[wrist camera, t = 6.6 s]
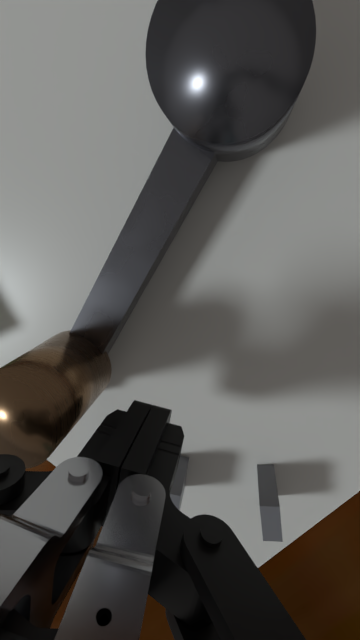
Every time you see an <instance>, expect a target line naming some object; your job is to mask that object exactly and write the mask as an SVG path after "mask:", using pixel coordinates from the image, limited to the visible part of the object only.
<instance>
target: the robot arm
mask: <svg viewBox="0 0 360 640" xmlns="http://www.w3.org/2000/svg"><path fill="white" fill-rule="evenodd" d="M171 412H172V410H171V409H167V408H163V407H159V406H156V405H151V404H148V403H144V402H140V401H136V400H134V401H133V402H132V404H131V406H130V407H129V409H128V410H127V412H126V411H122V410H118V409H117V410H115V411H114V412H112V413H110V414H108V415H107V416H106V417H105V419H104V420H103V422H102V423H101V425H100V426H99V427H98V428H97V430H96V432H94V434H93V435H92V437H91V438H90V439H89V441H88V442H87V443H86V445H85V446H84V448H83V449H82V450H81V452H80V453H79V454H78V456H77V457H74V458H70V459H67V460H65V461H63V462H62V463H60V464H59V465H58V466H57V467H56V468H55V469H54V470H53V471H49V472H33V471H25V463H24V462H23V460H22V459H21V458H19V457H17V456H15V455H10V454H0V640H139V637H140V631H141V626H142V621H143V615H144V610H145V605H146V600H147V594H149V595H150V596H151V597H153V598H154V599H155V600H156V601H158V602H159V603H160V604H161V605H162V606H164V607H165V608H166V617H167V620H168V623H169V626H170V629H171V631H172V634H173V636H174V639H175V640H306V639H305V638H304V636H303V635H302V633H301V632H300V630H299V629H298V627H297V626H296V624H295V623H294V621H293V620H292V618H291V617H290V615H289V614H288V612H287V611H286V610H285V608H284V607H283V605H282V604H281V602H280V601H279V599H278V598H277V596H276V595H275V593H274V592H273V590H272V589H271V587H270V586H269V584H268V583H267V581H266V580H265V578H264V577H263V575H262V574H261V572H260V571H259V569H258V568H257V566H256V565H255V563H254V562H253V561H252V559H251V558H250V556H249V555H248V553H247V552H246V550H245V549H244V547H243V546H242V544H241V543H240V541H239V540H238V538H237V537H236V535H235V534H234V532H233V531H232V529H231V528H230V527H229V526H228V525H227V524H226V523H225V522H224V521H223V520H221V519H219V518H217V517H215V516H212V515H206V514H202V515H197V516H194V517H193V518H189V517H188V516H186V515H185V514H183V513H182V512H181V511H179V510H178V509H177V508H176V506H175V505H174V504H173V502H172V500H171V497H170V494H171V490H172V486H173V483H174V479H175V476H176V472H177V468H178V463H179V459H180V454H181V449H182V445H183V440H184V433H183V430H182V427H181V426H178V425H175V424H171V423H170V418H171ZM101 526H103V528H102V531H101V533H100V536H99V539H98V541H97V544H96V546H95V548H93V543H94V539H95V537H96V535H97V533H98V531H99V529H100V527H101ZM82 567H83V568H82ZM81 569H82V570H81ZM80 570H81V573H80V575H79V578H78V580H77V583H76V586H75V588H74V591H73V593H72V596H71V598H70V601H69V603H68V606H67V609H66V611H65V614H64V616H63V619H62V621H61V624H60V626H59V629H50V627H51V624H52V622H53V619H54V617H55V615H56V613H57V611H58V609H59V608H60V606H61V604H62V602H63V601H64V599H65V597H66V595H67V593H68V592H69V590H70V588H71V586H72V585H73V583H74V581H75V579H76V577H77V576H78V574H79V572H80Z"/></svg>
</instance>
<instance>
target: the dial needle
mask: <svg viewBox="0 0 360 640" xmlns="http://www.w3.org/2000/svg"><path fill="white" fill-rule="evenodd" d="M315 44H316V18H315V11H314V6H313V2H312V0H158V1H157V3H156V5H155V8H154V11H153V13H152V16H151V19H150V23H149V27H148V32H147V39H146V54H145V56H146V69H147V74H148V80H149V83H150V87H151V90H152V92H153V95H154V97H155V99H156V101H157V103H158V105H159V107H160V108H161V110H162V111H163V113H164V114H165V116H166V117H167V119H168V120H169V121H170V123H171V124H172V126H173V127H174V128H173V130H172V132H171V134H170V136H169V137H168V139H167V141H166V143H165V145H164V147H163V149H162V151H161V153H160V155H159V157H158V159H157V161H156V163H155V165H154V167H153V169H152V171H151V173H150V175H149V177H148V179H147V181H146V183H145V185H144V187H143V189H142V191H141V193H140V195H139V197H138V199H137V201H136V203H135V205H134V207H133V209H132V211H131V213H130V215H129V217H128V218H127V220H126V222H125V224H124V226H123V228H122V230H121V232H120V234H119V236H118V238H117V240H116V242H115V244H114V246H113V248H112V250H111V252H110V254H109V256H108V258H107V260H106V262H105V264H104V266H103V268H102V270H101V272H100V274H99V276H98V278H97V280H96V282H95V284H94V286H93V288H92V290H91V292H90V294H89V296H88V297H87V299H86V301H85V303H84V305H83V307H82V309H81V311H80V313H79V315H78V317H77V319H76V321H75V323H74V325H73V327H72V329H71V330H69V331H63V332H60V333H58V334H56V335H54V336H53V337H51V338H49V339H48V340H46V341H44V342H43V343H41V344H39V345H38V346H36V347H34V348H33V349H31V350H29V351H28V352H26V353H24V354H23V355H21V356H19V357H18V358H16V359H14V360H13V361H11V362H9V363H8V364H6V365H4V366H3V367H1V368H0V454H10V455H15V456H17V457H19V458H21V459H22V460H23V462H24V463H25V468H32V467H35V466H37V465H39V464H41V463H43V462H44V461H46V460H47V458H48V457H49V456H50V455H51V454H52V453H53V452H54V450H55V449H56V448H57V447H58V445H59V444H60V443H61V442H62V441H63V439H64V438H65V437H66V436H67V434H68V433H69V432H70V431H71V430H72V428H73V427H74V426H75V425H76V424H77V422H78V421H79V420H80V419H81V417H82V416H83V415H84V414H85V413H86V411H87V410H88V409H89V408H90V407H91V405H92V404H93V403H94V402H95V400H96V399H97V398H98V397H99V396H100V394H101V393H102V392H103V391H104V390H105V388H106V387H107V385H108V383H109V381H110V378H111V373H112V368H111V362H110V358H109V356H108V353H109V352H110V350H111V348H112V346H113V345H114V343H115V341H116V339H117V338H118V336H119V334H120V332H121V330H122V329H123V327H124V325H125V323H126V322H127V320H128V318H129V316H130V315H131V313H132V311H133V309H134V308H135V306H136V304H137V302H138V301H139V299H140V297H141V295H142V294H143V292H144V290H145V288H146V287H147V285H148V283H149V281H150V280H151V278H152V276H153V274H154V272H155V271H156V269H157V267H158V265H159V264H160V262H161V260H162V258H163V257H164V255H165V253H166V251H167V250H168V248H169V246H170V244H171V243H172V241H173V239H174V237H175V236H176V234H177V232H178V230H179V229H180V227H181V225H182V223H183V222H184V220H185V218H186V216H187V215H188V213H189V211H190V209H191V207H192V206H193V204H194V202H195V200H196V199H197V197H198V195H199V193H200V192H201V190H202V188H203V186H204V185H205V183H206V181H207V179H208V178H209V176H210V174H211V172H212V171H213V169H214V167H215V165H216V164H217V162H218V161H221V162H231V161H238V160H242V159H245V158H248V157H251V156H253V155H254V154H256V153H258V152H260V151H261V150H263V149H264V148H265V147H267V146H268V145H269V144H270V143H271V142H272V141H273V140H274V139H275V138H276V137H277V136H278V134H279V133H280V132H281V130H282V129H283V127H284V126H285V124H286V122H287V120H288V118H289V116H290V114H291V112H292V109H293V107H294V105H295V103H296V101H297V98H298V96H299V94H300V92H301V90H302V87H303V85H304V83H305V80H306V78H307V75H308V73H309V71H310V67H311V64H312V60H313V56H314V50H315Z"/></svg>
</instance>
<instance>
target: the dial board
mask: <svg viewBox="0 0 360 640" xmlns="http://www.w3.org/2000/svg"><path fill="white" fill-rule="evenodd" d="M157 1H158V0H0V368H1V367H3V366H4V365H6V364H8V363H9V362H11V361H13V360H14V359H16V358H18V357H19V356H21V355H23V354H24V353H26V352H28V351H29V350H31V349H33V348H34V347H36V346H38V345H39V344H41V343H43V342H44V341H46V340H48V339H49V338H51V337H53V336H54V335H56V334H58V333H60V332H63V331H69V330H71V329H72V327H73V325H74V323H75V321H76V319H77V317H78V315H79V313H80V311H81V309H82V307H83V305H84V303H85V301H86V299H87V297H88V296H89V294H90V292H91V290H92V288H93V286H94V284H95V282H96V280H97V278H98V276H99V274H100V272H101V270H102V268H103V266H104V264H105V262H106V260H107V258H108V256H109V254H110V252H111V250H112V248H113V246H114V244H115V242H116V240H117V238H118V236H119V234H120V232H121V230H122V228H123V226H124V224H125V222H126V220H127V218H128V217H129V215H130V213H131V211H132V209H133V207H134V205H135V203H136V201H137V199H138V197H139V195H140V193H141V191H142V189H143V187H144V185H145V183H146V181H147V179H148V177H149V175H150V173H151V171H152V169H153V167H154V165H155V163H156V161H157V159H158V157H159V155H160V153H161V151H162V149H163V147H164V145H165V143H166V141H167V139H168V137H169V136H170V134H171V132H172V130H173V128H174V127H173V126H172V124H171V123H170V121H169V120H168V119H167V117H166V116H165V114H164V113H163V111H162V110H161V108H160V107H159V105H158V103H157V101H156V99H155V97H154V95H153V92H152V90H151V87H150V83H149V80H148V74H147V69H146V56H145V54H146V39H147V32H148V27H149V23H150V19H151V16H152V13H153V11H154V8H155V5H156V3H157ZM312 2H313V6H314V11H315V18H316V44H315V50H314V56H313V60H312V64H311V67H310V71H309V73H308V75H307V78H306V80H305V83H304V85H303V87H302V90H301V92H300V94H299V96H298V98H297V101H296V103H295V105H294V107H293V109H292V112H291V114H290V116H289V118H288V120H287V122H286V124H285V126H284V127H283V129H282V130H281V132H280V133H279V134H278V136H277V137H276V138H275V139H274V140H273V141H272V142H271V143H270V144H269V145H268V146H267V147H265V148H264V149H263V150H261V151H260V152H258V153H256V154H254V155H253V156H251V157H248V158H245V159H242V160H238V161H231V162H221V161H218V162H217V164H216V165H215V167H214V169H213V171H212V172H211V174H210V176H209V178H208V179H207V181H206V183H205V185H204V186H203V188H202V190H201V192H200V193H199V195H198V197H197V199H196V200H195V202H194V204H193V206H192V207H191V209H190V211H189V213H188V215H187V216H186V218H185V220H184V222H183V223H182V225H181V227H180V229H179V230H178V232H177V234H176V236H175V237H174V239H173V241H172V243H171V244H170V246H169V248H168V250H167V251H166V253H165V255H164V257H163V258H162V260H161V262H160V264H159V265H158V267H157V269H156V271H155V272H154V274H153V276H152V278H151V280H150V281H149V283H148V285H147V287H146V288H145V290H144V292H143V294H142V295H141V297H140V299H139V301H138V302H137V304H136V306H135V308H134V309H133V311H132V313H131V315H130V316H129V318H128V320H127V322H126V323H125V325H124V327H123V329H122V330H121V332H120V334H119V336H118V338H117V339H116V341H115V343H114V345H113V346H112V348H111V350H110V352H109V353H108V356H109V358H110V362H111V368H112V373H111V378H110V381H109V383H108V385H107V387H106V388H105V390H104V391H103V392H102V393H101V394H100V396H99V397H98V398H97V399H96V400H95V402H94V403H93V404H92V405H91V407H90V408H89V409H88V410H87V411H86V413H85V414H84V415H83V416H82V417H81V419H80V420H79V421H78V422H77V424H76V425H75V426H74V427H73V428H72V430H71V431H70V432H69V433H68V434H67V436H66V437H65V438H64V439H63V441H62V442H61V443H60V444H59V445H58V447H57V448H56V449H55V450H54V452H53V453H52V454H51V455H50V456H49V457H48V458H47V460H48V461H49V462H51V463H52V464H53V465H55V466H56V467H57V466H58V465H59V464H60V463H62V462H63V461H65V460H67V459H70V458H74V457H77V456H78V454H79V453H80V452H81V450H82V449H83V448H84V446H85V445H86V443H87V442H88V441H89V439H90V438H91V437H92V435H93V434H94V432H96V430H97V428H98V427H99V426H100V425H101V423H102V422H103V420H104V419H105V417H106V416H107V415H108V414H110V413H112V412H114V411H115V410H117V409H118V410H122V411H126V412H127V410H128V409H129V407H130V406H131V404H132V402H133V401H134V400H136V401H140V402H144V403H148V404H151V405H156V406H159V407H163V408H167V409H171V410H172V412H171V418H170V423H171V424H175V425H178V426H181V427H182V430H183V433H184V440H183V445H182V449H181V454H180V459H179V463H178V468H177V472H176V476H175V479H174V483H173V486H172V490H171V494H170V497H171V500H172V502H173V504H174V505H175V506H176V508H177V509H178V510H179V511H181V512H182V513H183V514H185V515H186V516H188V517H189V518H193V517H194V516H197V515H202V514H206V515H212V516H215V517H217V518H219V519H221V520H223V521H224V522H225V523H226V524H227V525H228V526H229V527H230V528H231V529H232V531H233V532H234V534H235V535H236V537H237V538H238V540H239V541H240V543H241V544H242V546H243V547H244V549H245V550H246V552H247V553H248V555H249V556H250V558H251V559H252V561H253V562H254V563H255V565H256V566H257V568H258V567H260V566H261V565H262V564H264V563H265V562H266V561H268V560H269V559H270V558H272V557H273V556H274V555H276V554H277V553H278V552H279V551H281V550H282V549H283V548H285V547H286V546H287V545H289V544H290V543H291V542H293V541H294V540H295V539H297V538H298V537H299V536H301V535H302V534H303V533H305V532H306V531H307V530H309V529H310V528H311V527H313V526H314V525H315V524H316V523H318V522H319V521H320V520H322V519H323V518H324V517H326V516H327V515H328V514H330V513H331V512H332V511H334V510H335V509H336V508H338V507H339V506H340V505H342V504H343V503H344V502H346V501H347V500H348V499H350V498H351V497H352V496H353V495H355V494H356V493H357V492H359V491H360V0H312Z"/></svg>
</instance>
